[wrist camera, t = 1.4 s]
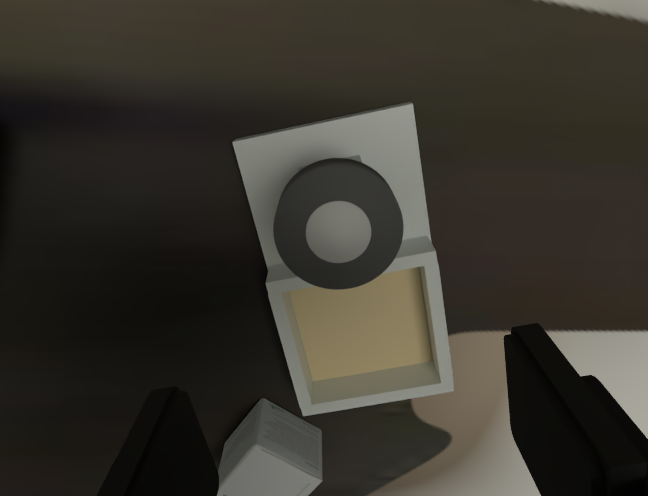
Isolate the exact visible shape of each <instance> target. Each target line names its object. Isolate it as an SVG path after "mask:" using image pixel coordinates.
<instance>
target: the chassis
mask: <svg viewBox="0 0 648 496" xmlns="http://www.w3.org/2000/svg"><path fill="white" fill-rule="evenodd" d="M232 143H233V147H234V150H235V154H236V157H237V161H238V165H239V168H240V172H241V175H242V179H243V183H244V186H245V190H246V193H247V197H248V201H249V204H250V208H251V211H252V215H253V219H254V222H255V226H256V229H257V233H258V237H259V240H260V244H261V247H262V251H263V254H264V258H265V262H266V265H267V269H268V275H267V279H266V283H265V284H266V287H267V291H268V297H269V301H270V304H271V308H272V311H273V315H274V318H275V322H276V325H277V329H278V332H279V336H280V339H281V343H282V346H283V350H284V353H285V357H286V360H287V364H288V367H289V371H290V375H291V378H292V382H293V385H294V389H295V392H296V396H297V399H298V403H299V406H300V407H301V410H302V414H303V416H308V415H314V414H320V413H326V412H332V411H338V410H344V409H350V408H356V407H362V406H368V405H374V404H380V403H386V402H392V401H398V400H404V399H410V398H416V397H422V396H428V395H434V394H440V393H446V392H452V391H454V387H453V374H452V366H451V358H450V350H449V342H448V335H447V327H446V319H445V312H444V304H443V296H442V289H441V281H440V273H439V265H438V262H437V257H436V251H435V249H434V247H433V245H432V243H431V236H430V229H429V221H428V214H427V206H426V199H425V191H424V184H423V176H422V169H421V161H420V154H419V146H418V139H417V132H416V124H415V117H414V109H413V103H411V102H406V103H402V104H397V105H392V106H388V107H383V108H378V109H374V110H369V111H364V112H360V113H355V114H350V115H346V116H341V117H336V118H332V119H327V120H322V121H318V122H313V123H308V124H303V125H299V126H294V127H289V128H285V129H280V130H275V131H271V132H266V133H261V134H257V135H252V136H247V137H243V138H238V139H235V140H234V141H233V142H232ZM329 158H346V159H352V160H356V161H359V162H361V163H364V164H366V165H368V166H369V167H371V168H373V169H374V170H375V171H377V172H378V173H379V174H380V175H381V176H382V177H383V178H384V179H385V180H386V182H387V183H388V184H389V186H390V188H391V190H392V192H393V194H394V196H395V198H396V200H397V202H398V204H399V207H400V210H401V213H402V217H403V226H404V228H403V238H402V243H401V246H400V249H399V251H398V253H397V255H396V257H395V259H394V260H393V262H392V263H391V265H390V266H389V267H388V268H387V269H386V270H385V271H384V272H383V273H382V274H381V275H380V276H378V277H377V278H375V279H374V280H372V281H370V282H368V283H366V284H364V285H361V286H358V287H354V288H350V289H343V290H333V289H325V288H321V287H317V286H314V285H312V284H309V283H307V282H305V281H303V280H302V279H300V278H299V277H297V276H296V275H295V274H294V273H293V272H292V271H291V270H290V269H289V268H288V267H287V266H286V265H285V263H284V262H283V260H282V259H281V257H280V255H279V253H278V251H277V248H276V245H275V241H274V233H273V225H274V218H275V213H276V210H277V206H278V203H279V200H280V197H281V194H282V192H283V190H284V188H285V186H286V185H287V184H288V182H289V181H290V179H291V178H292V177H293V176H294V175H295V174H296V173H298V172H299V171H300V170H301V169H303V168H304V167H306V166H308V165H310V164H312V163H314V162H317V161H320V160H324V159H329Z"/></svg>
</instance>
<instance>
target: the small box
mask: <svg viewBox="0 0 648 496" xmlns="http://www.w3.org/2000/svg"><path fill="white" fill-rule="evenodd" d="M218 474H219V490H218V494H217V496H308V495H309V494H310V493H311V492H312V491H313V490H314V489H315V488H316V487H317V486H318V485H319V484H320V483H321V482H322V431H321V429H319V428H317V427H315V426H314V425H312V424H310V423H308V422H306V421H304V420H303V419H301V418H299V417H297V416H295V415H293V414H292V413H290V412H288V411H286V410H284V409H283V408H281V407H279V406H277V405H276V404H274V403H272V402H270V401H268V400H267V399H265V398H261V399H260V401H259V402H258V403H257V404H256V405H255V406H254V408H253V409H252V410H251V411H250V412H249V414H248V415H247V416H246V417H245V419H244V420H243V421H242V422H241V424H240V425H239V426H238V427H237V429H236V430H235V431H234V432H233V433H232V435H231V436H230V437H229V439H228V440H227V441H226V442H225V444H224V449H223V453H222V458H221V462H220V466H219V470H218Z"/></svg>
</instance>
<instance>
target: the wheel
mask: <svg viewBox="0 0 648 496" xmlns="http://www.w3.org/2000/svg"><path fill="white" fill-rule="evenodd" d="M403 228H404V226H403V217H402V213H401V210H400V207H399V204H398V202H397V200H396V198H395V196H394V194H393V192H392V190H391V188H390V186H389V184H388V183H387V182H386V180H385V179H384V178H383V177H382V176H381V175H380V174H379V173H378V172H377V171H375V170H374V169H373V168H371V167H369V166H368V165H366V164H364V163H361V162H359V161H356V160H352V159H346V158H329V159H324V160H320V161H317V162H314V163H312V164H310V165H308V166H306V167H304V168H303V169H301V170H300V171H299V172H298V173H296V174H295V175H294V176H293V177H292V178H291V179H290V181H289V182H288V184H287V185H286V186H285V188H284V190H283V192H282V194H281V197H280V200H279V203H278V206H277V210H276V213H275V218H274V225H273V233H274V241H275V245H276V248H277V251H278V253H279V255H280V257H281V259H282V260H283V262H284V263H285V265H286V266H287V267H288V268H289V269H290V270H291V271H292V272H293V273H294V274H295V275H296V276H297V277H299V278H300V279H302V280H303V281H305V282H307V283H309V284H312V285H314V286H317V287H321V288H325V289H333V290H343V289H350V288H354V287H358V286H361V285H364V284H366V283H368V282H370V281H372V280H374V279H375V278H377V277H378V276H380V275H381V274H382V273H383V272H384V271H385V270H386V269H387V268H388V267H389V266H390V265H391V263H392V262H393V260H394V259H395V257H396V255H397V253H398V251H399V249H400V246H401V243H402V238H403Z"/></svg>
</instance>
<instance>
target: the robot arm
mask: <svg viewBox="0 0 648 496" xmlns="http://www.w3.org/2000/svg"><path fill="white" fill-rule="evenodd" d="M504 349H505V361H506V373H507V386H508V399H509V413H510V425H511V430H512V434H513V437H514V440H515V442H516V445H517V447H518V449H519V451H520V453H521V455H522V457H523V459H524V461H525V463H526V465H527V467H528V469H529V472H530V473H531V476H532V478H533V480H534V482H535V484H536V486H537V488H538V490H539V492H540V494H541V496H648V439H647V438H646V437H645V435H644V434H643V433H642V432H641V430H640V429H639V428H638V427H637V426H636V424H635V423H634V422H633V421H632V420H631V419H630V417H629V416H628V415H627V414H626V413H625V411H624V410H623V409H622V408H621V406H620V405H619V404H618V403H617V401H616V400H615V399H614V398H613V397H612V396H611V394H610V393H609V392H608V391H607V389H606V388H605V387H604V386H603V385H602V383H601V382H600V381H599V380H598V379H597V378H596V377H594V376H592V375H588V376H582V377H580V376H579V374H578V373H577V372H576V370H575V369H574V368H573V367H572V365H571V364H570V363H569V362H568V360H567V359H566V358H565V356H564V355H563V354H562V353H561V351H560V350H559V349H558V347H557V346H556V345H555V344H554V342H553V341H552V340H551V338H550V337H549V336H548V334H547V333H546V332H545V331H544V329H543V328H542V327H541V326H540V325H539V324H538V323H534V324H529V325H523V326H517V327H513V328H512V329H511V334H510V335H505V336H504ZM218 490H219V474H218V471H217V468H216V465H215V463H214V460H213V458H212V455H211V453H210V450H209V448H208V445H207V442H206V440H205V437H204V435H203V432H202V430H201V427H200V425H199V422H198V419H197V417H196V414H195V412H194V409H193V407H192V404H191V402H190V399H189V396H188V394H187V393H186V392H185V391H180V390H179V388H178V387H176V386H173V387H167V388H162V389H156V390H152V391H151V392H150V393H149V395H148V397H147V399H146V401H145V403H144V405H143V407H142V409H141V411H140V413H139V415H138V417H137V419H136V421H135V423H134V425H133V427H132V429H131V431H130V433H129V435H128V437H127V439H126V441H125V443H124V445H123V447H122V449H121V451H120V453H119V454H118V456H117V458H116V460H115V461H114V463H113V465H112V467H111V469H110V471H109V473H108V475H107V477H106V479H105V481H104V483H103V485H102V487H101V489H100V491H99V493H98V495H97V496H217V494H218Z"/></svg>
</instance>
